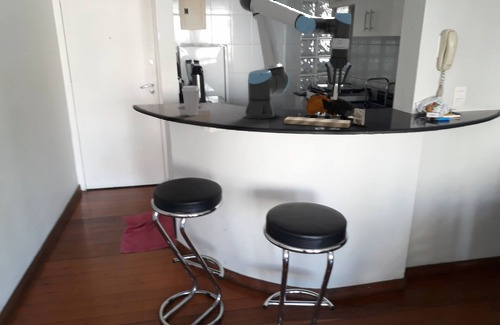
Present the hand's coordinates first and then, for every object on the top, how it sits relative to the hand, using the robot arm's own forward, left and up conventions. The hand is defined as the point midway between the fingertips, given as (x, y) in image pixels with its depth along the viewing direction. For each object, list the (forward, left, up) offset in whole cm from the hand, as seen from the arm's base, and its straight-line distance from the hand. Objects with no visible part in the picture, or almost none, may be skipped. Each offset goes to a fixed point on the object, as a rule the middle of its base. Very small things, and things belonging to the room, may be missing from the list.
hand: (335, 99), depth 186 cm
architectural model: (+12, -4, -11) cm, 17 cm away
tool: (-5, +13, -11) cm, 17 cm away
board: (-6, -11, -11) cm, 16 cm away
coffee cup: (-74, -8, -11) cm, 75 cm away
